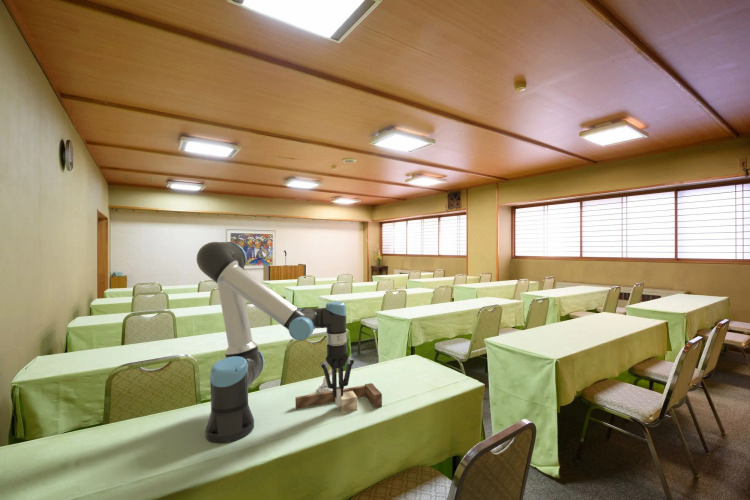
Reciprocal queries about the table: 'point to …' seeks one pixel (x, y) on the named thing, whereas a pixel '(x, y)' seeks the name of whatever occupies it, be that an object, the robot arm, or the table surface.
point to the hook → (325, 384)
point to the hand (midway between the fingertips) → (338, 405)
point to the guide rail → (360, 391)
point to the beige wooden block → (348, 402)
